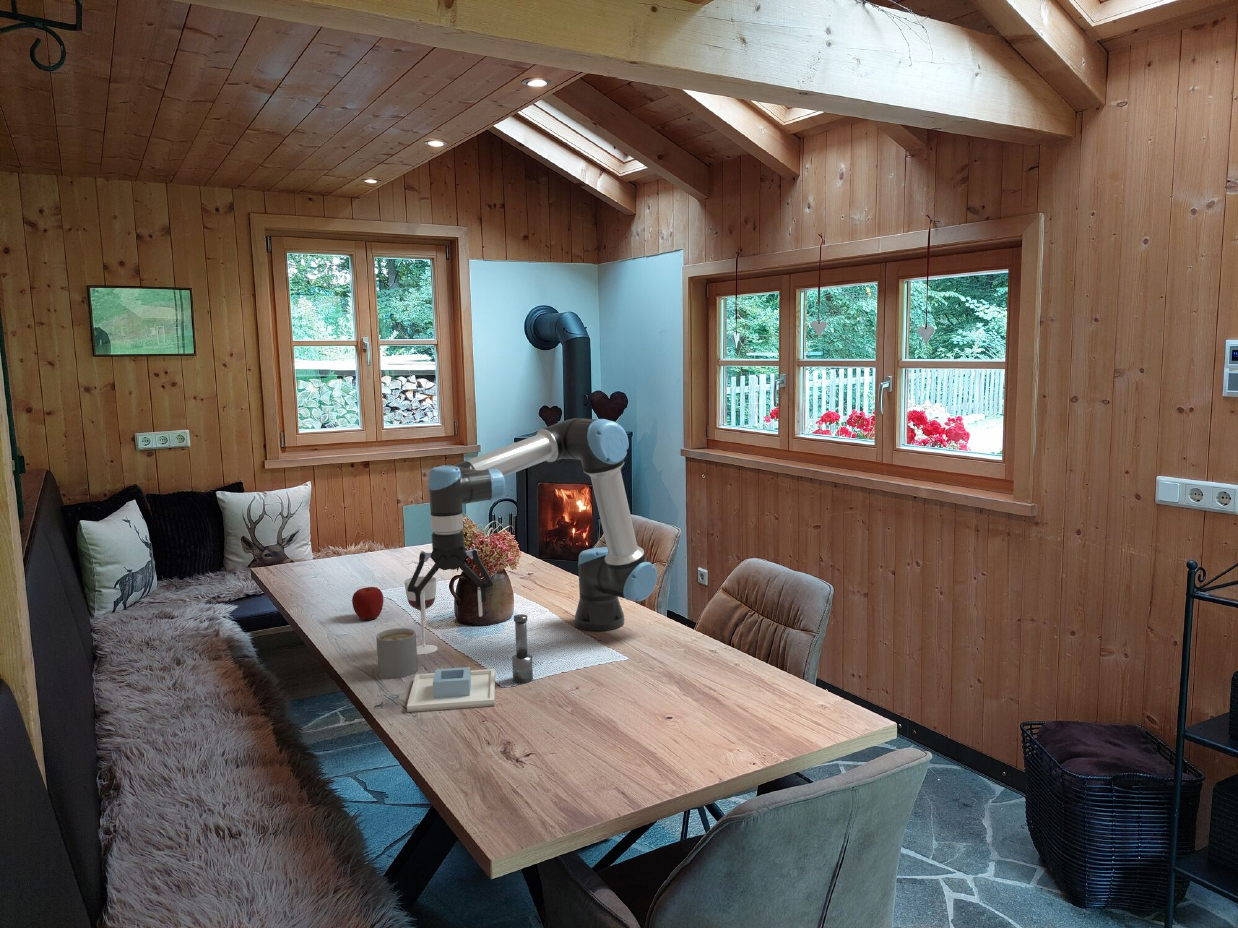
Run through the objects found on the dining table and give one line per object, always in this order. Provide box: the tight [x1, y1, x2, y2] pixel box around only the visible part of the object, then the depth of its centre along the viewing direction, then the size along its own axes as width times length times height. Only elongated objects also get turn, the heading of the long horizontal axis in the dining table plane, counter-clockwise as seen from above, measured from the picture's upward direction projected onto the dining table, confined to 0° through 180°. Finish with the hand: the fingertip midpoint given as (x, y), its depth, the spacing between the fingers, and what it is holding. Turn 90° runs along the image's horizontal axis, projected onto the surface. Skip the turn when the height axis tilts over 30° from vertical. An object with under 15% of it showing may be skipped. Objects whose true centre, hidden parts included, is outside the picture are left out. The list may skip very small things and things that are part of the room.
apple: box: [351, 586, 384, 621], centre depth 270 cm, size 10×10×10 cm
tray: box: [406, 668, 496, 713], centre depth 209 cm, size 20×20×2 cm
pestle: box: [511, 614, 534, 684], centre depth 216 cm, size 5×5×16 cm
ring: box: [433, 666, 471, 698], centre depth 209 cm, size 8×8×4 cm
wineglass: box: [404, 575, 439, 655], centre depth 239 cm, size 8×9×20 cm
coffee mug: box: [375, 627, 418, 679], centre depth 225 cm, size 13×10×10 cm
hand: (452, 616), depth 208 cm, fingers open, 13 cm apart
